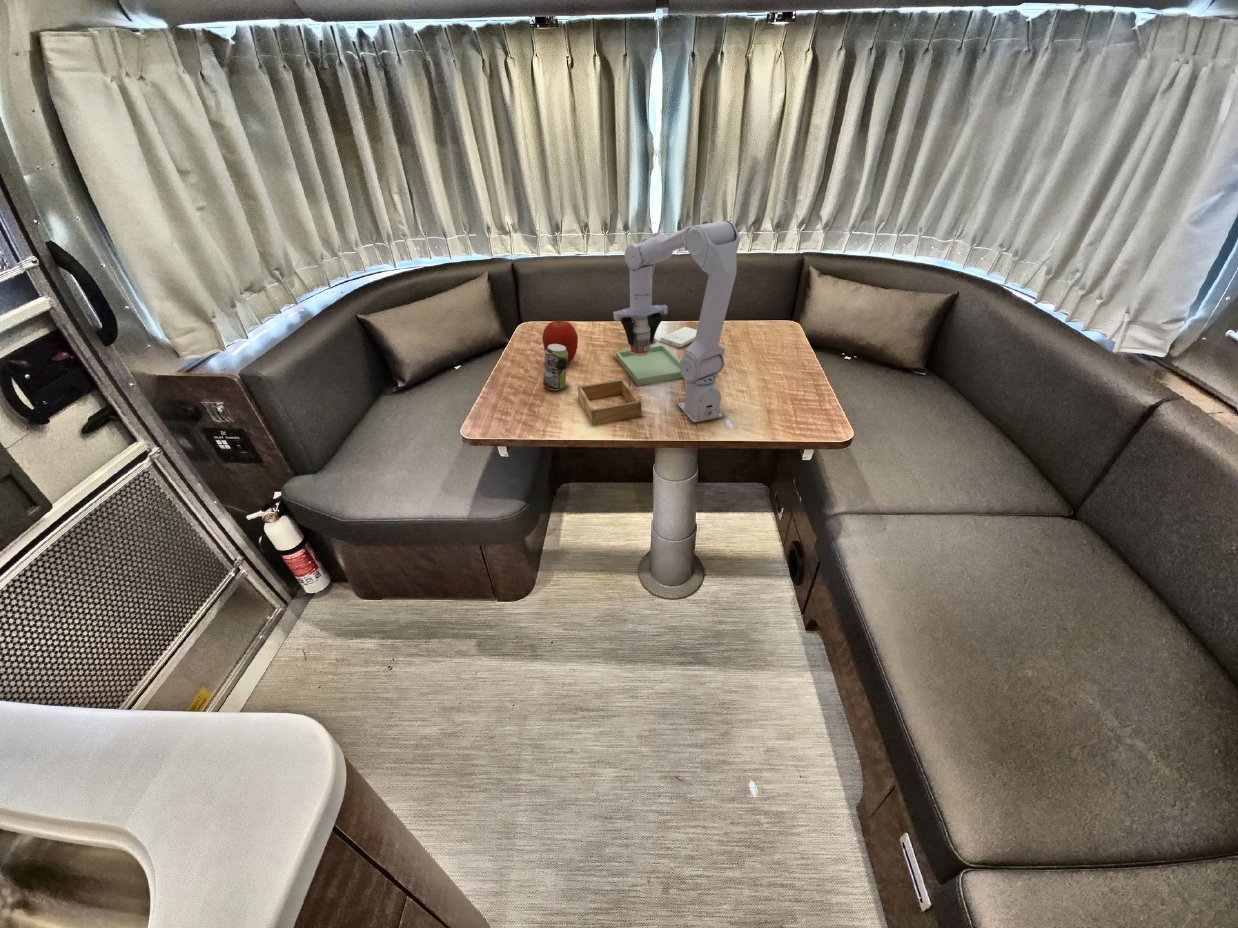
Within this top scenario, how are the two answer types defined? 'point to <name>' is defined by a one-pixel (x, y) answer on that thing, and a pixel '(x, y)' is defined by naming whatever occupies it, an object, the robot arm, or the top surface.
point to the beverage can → (555, 366)
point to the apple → (561, 337)
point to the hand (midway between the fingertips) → (640, 342)
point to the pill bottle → (641, 336)
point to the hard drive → (680, 337)
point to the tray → (651, 365)
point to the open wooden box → (609, 412)
